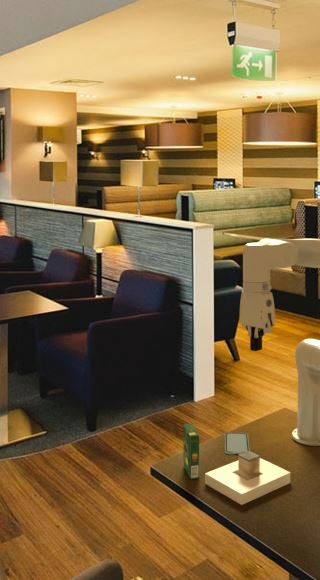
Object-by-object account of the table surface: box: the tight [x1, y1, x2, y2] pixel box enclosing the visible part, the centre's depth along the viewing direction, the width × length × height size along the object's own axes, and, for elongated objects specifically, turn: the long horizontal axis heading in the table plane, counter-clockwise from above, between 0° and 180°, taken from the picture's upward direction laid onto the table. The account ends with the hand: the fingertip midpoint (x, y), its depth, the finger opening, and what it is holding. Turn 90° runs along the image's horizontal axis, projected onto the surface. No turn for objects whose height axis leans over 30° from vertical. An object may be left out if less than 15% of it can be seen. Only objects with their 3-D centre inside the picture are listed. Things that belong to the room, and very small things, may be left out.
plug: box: [237, 450, 261, 481], centre depth 167 cm, size 4×4×8 cm
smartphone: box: [224, 432, 251, 455], centre depth 192 cm, size 7×1×15 cm
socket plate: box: [204, 457, 291, 506], centre depth 168 cm, size 18×14×3 cm
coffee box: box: [182, 423, 200, 480], centre depth 173 cm, size 8×3×13 cm, turn 11°
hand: (256, 349), depth 179 cm, fingers closed
